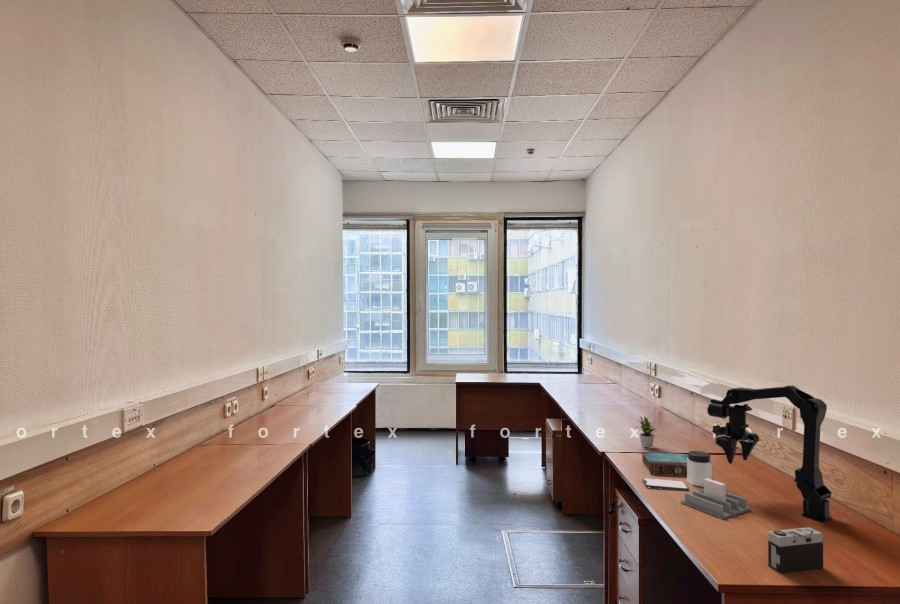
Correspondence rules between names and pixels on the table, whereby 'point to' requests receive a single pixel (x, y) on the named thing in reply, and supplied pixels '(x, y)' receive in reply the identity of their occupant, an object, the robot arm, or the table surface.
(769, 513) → the table surface
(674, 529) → the table surface
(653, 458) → the brown teal box
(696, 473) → the jar
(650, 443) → the house plant
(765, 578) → the table surface
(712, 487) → the white slab
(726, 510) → the dish rack
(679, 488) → the phone case
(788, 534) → the camera
